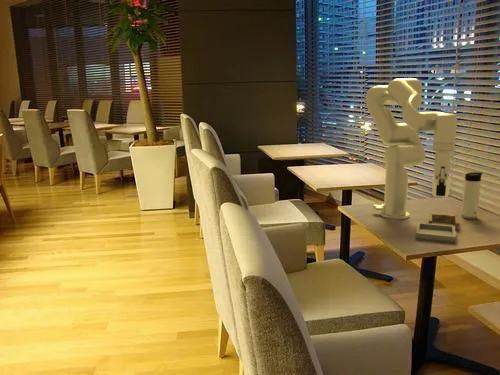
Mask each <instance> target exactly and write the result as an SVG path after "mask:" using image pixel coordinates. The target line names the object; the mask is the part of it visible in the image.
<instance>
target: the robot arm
mask: <svg viewBox="0 0 500 375" xmlns="http://www.w3.org/2000/svg"><path fill="white" fill-rule="evenodd" d="M422 92H423V85H422V82H421V81H420V79H418V78H414V77H408V78H407V77H406V78H405V77H404V78H394V79H393V80H391V81H389V83H388V84H385V85H382V84H381V85H375V86H372V87H370V88H369V89H367V92H366V96H365V104H366V105H365V106H366V108H367V110H368V112H369V114H370V116H371V117H372V119H373V121H374V124H375V127H376V130H377V132H378V134H379V137H380V139H381V142H382V143H383V144H384V145H386V146H388V147H387V148H386V149H385V151H384V164H385V165H384V166H385V180H384V183H385V184H384V196H383V197H384V198H383V199H384V201H383V204H381V205H379V204H373V210H376V211H379V215H380V216H381V217H383V218H387V219H390V220H405V219H408V218H410V212H408V211H407V201H408V190H409V189H408V188H409V174H408V173H407V170H406V168H405V167H412V166H419V165H422V164H423V162H425V159H426V152H425V148H424V145H423V143H422V141H421V138H420V135H419V134H418V133H427V132H428V133H429V132H430V133H431V132H433V145H432V152H435V153H434V164H433V166H434V167H433V177H435V178H436V177H438V185H437V188H436V195H437V196H445V191H446V185H445V184H446V178H447V177H449V172H450V164H451V158H452V157H451V156H452V155H451V154H452V153H453V152H455V150H456V149H455V147H456V138H457V137H456V135H457V125H458V116H457V115H456V114H454V113H445V112H442V111H422V112H421V111H418V109H419V108H420V107H421V104H422V102H423V97H422ZM385 105H386V106H387V105H399V106H400V107H401V108H402V109H401V117H402V121H403V122H397V120H396V118H395V116H394V113H392V111H391V110H390V109H389V108H387V107H386V106H385ZM439 176H441V177H439ZM439 179H440V180H439Z"/></svg>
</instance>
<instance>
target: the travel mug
mask: <svg viewBox="0 0 500 375" xmlns="http://www.w3.org/2000/svg"><path fill="white" fill-rule="evenodd" d="M482 175H483V172H476V171H473V172H467V173H465V178H464V185H463V195H462V206H461V218H464V219H466V220H476V219H477V218H478V212H479V202H480V201H479V200H480V194H481V184H482Z"/></svg>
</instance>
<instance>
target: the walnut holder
mask: <svg viewBox="0 0 500 375" xmlns="http://www.w3.org/2000/svg"><path fill="white" fill-rule="evenodd" d="M432 222H440V223H441V222H442V223H451V224H454V226H455V231H459V229H460V220H459V215H457V214H456V215H455V214H445V213H432V212H429V213H428V223H427V224H433V223H432Z"/></svg>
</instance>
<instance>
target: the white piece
mask: <svg viewBox="0 0 500 375" xmlns="http://www.w3.org/2000/svg"><path fill="white" fill-rule="evenodd" d="M439 177H441V176H439ZM439 180H440V179H439ZM451 182H452V178H451V177H449V176H448V177H447V178H446V184H445V185H446V191H445V196H437V195H436V188H437V185H438V177H436V178H435V177H434V176H432V177H431V185H432V186H431V187H432V189H431V190H432V195H431V196H433V197H435V198H448V197H449V195H450V188H451Z"/></svg>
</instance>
